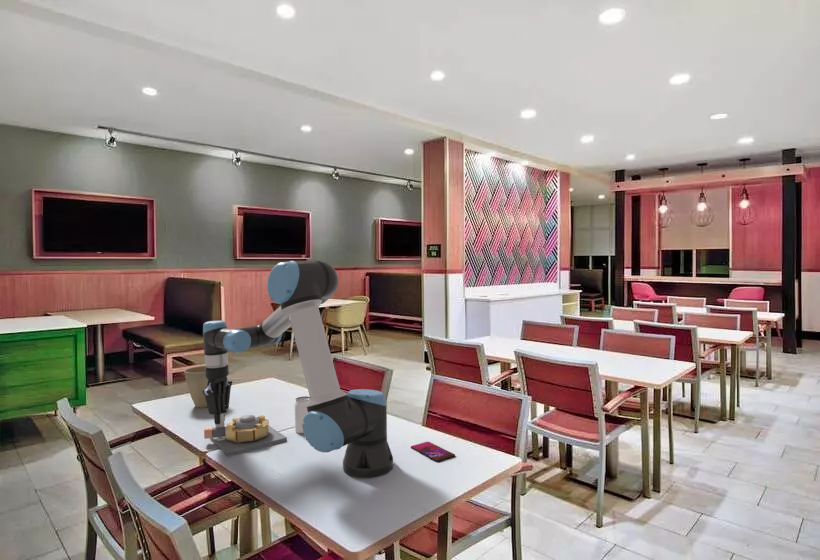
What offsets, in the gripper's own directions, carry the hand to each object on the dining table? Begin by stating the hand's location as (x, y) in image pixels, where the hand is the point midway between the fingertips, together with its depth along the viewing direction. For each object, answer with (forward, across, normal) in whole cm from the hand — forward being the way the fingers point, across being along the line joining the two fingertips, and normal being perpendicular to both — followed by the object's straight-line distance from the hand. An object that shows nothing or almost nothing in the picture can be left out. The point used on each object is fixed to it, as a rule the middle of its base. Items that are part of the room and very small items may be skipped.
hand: (220, 431), depth 172 cm
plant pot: (+3, -33, -34) cm, 47 cm away
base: (+3, -2, +9) cm, 10 cm away
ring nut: (+1, -1, +6) cm, 6 cm away
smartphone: (+4, -9, +74) cm, 75 cm away
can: (+4, -15, +24) cm, 29 cm away
